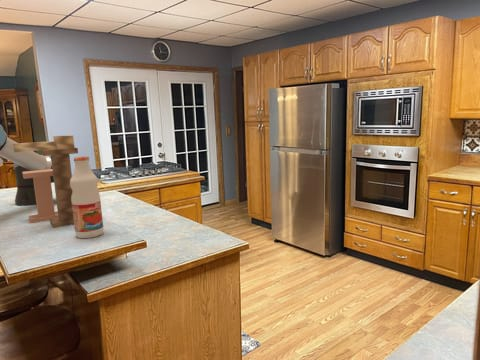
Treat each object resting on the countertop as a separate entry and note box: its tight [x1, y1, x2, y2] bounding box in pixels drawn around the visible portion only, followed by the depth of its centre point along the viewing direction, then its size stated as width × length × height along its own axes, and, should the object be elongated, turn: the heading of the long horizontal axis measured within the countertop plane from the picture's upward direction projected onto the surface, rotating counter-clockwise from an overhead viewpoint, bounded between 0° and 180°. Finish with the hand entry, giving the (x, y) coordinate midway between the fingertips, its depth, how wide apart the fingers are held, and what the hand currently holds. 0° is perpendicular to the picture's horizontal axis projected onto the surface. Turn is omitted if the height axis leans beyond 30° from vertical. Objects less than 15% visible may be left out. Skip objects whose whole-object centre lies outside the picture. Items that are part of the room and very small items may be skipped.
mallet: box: [13, 134, 76, 152], centre depth 139 cm, size 20×7×5 cm, turn 126°
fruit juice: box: [70, 155, 104, 239], centre depth 128 cm, size 9×9×28 cm
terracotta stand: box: [22, 169, 59, 224], centre depth 153 cm, size 13×8×20 cm, turn 123°
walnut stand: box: [40, 147, 79, 228], centre depth 145 cm, size 12×9×30 cm
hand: (1, 159), depth 132 cm, fingers open, 13 cm apart
